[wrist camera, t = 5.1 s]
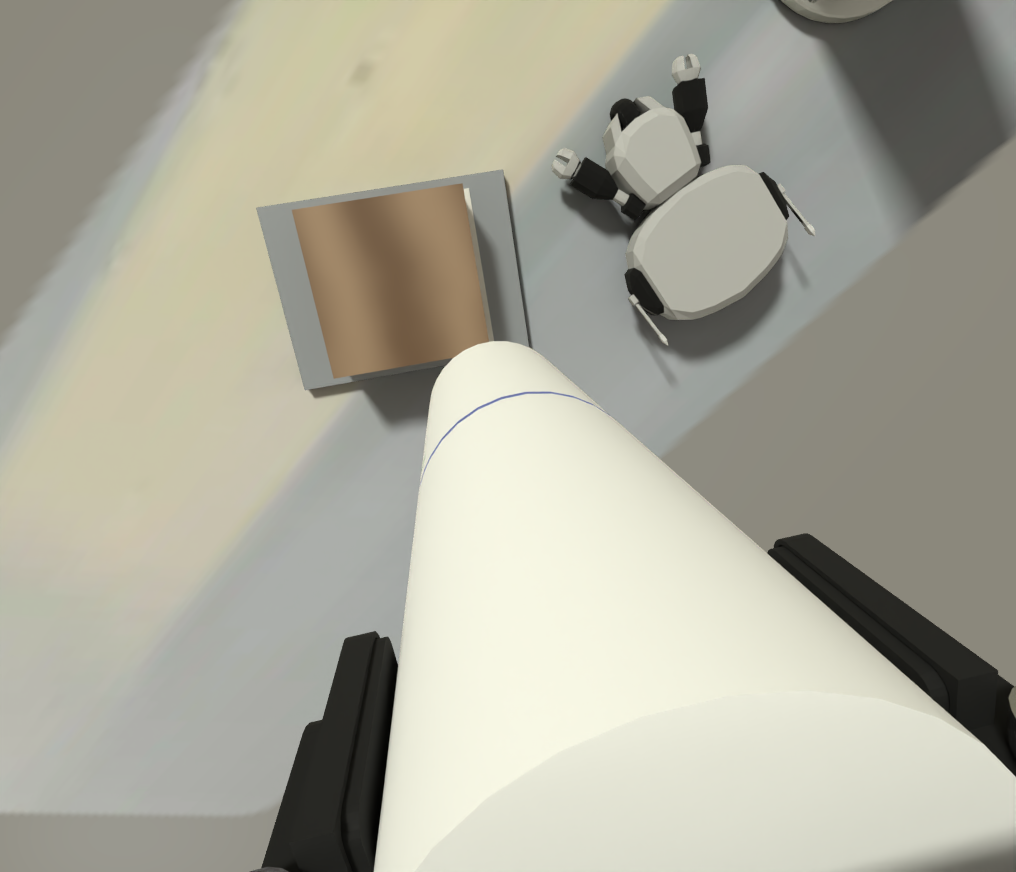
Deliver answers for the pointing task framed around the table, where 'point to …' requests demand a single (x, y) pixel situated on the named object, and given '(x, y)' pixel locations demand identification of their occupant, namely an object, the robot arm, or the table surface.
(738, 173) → the robot toy
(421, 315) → the plinth
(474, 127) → the table surface
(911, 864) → the cylindrical container
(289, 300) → the plate
